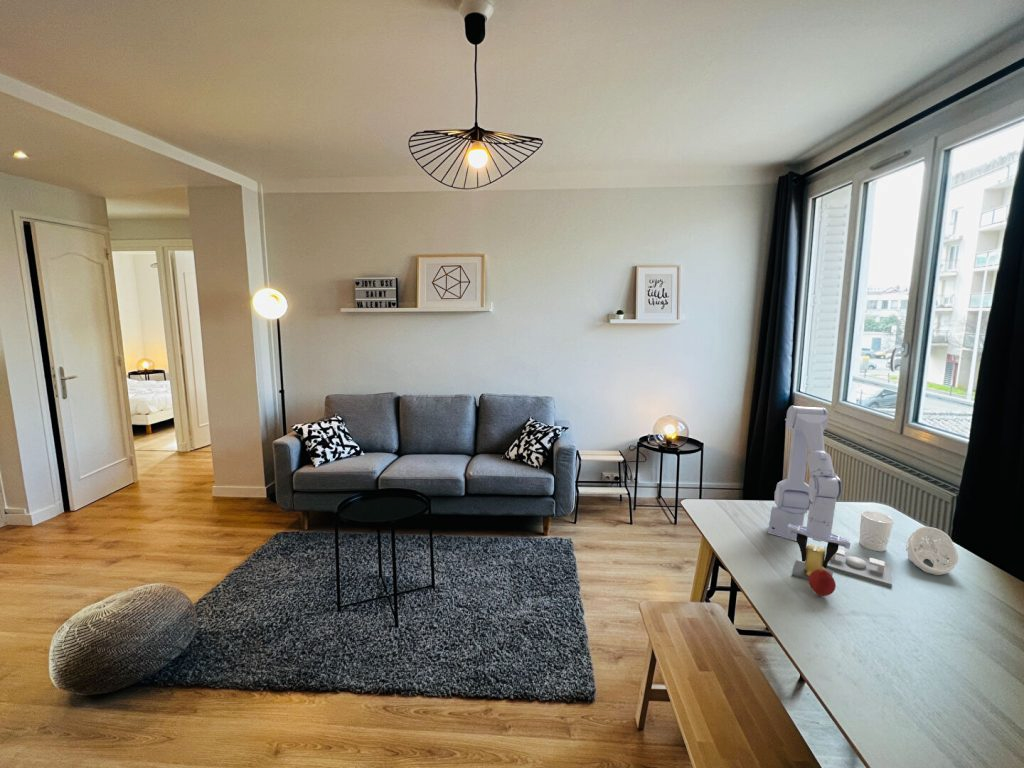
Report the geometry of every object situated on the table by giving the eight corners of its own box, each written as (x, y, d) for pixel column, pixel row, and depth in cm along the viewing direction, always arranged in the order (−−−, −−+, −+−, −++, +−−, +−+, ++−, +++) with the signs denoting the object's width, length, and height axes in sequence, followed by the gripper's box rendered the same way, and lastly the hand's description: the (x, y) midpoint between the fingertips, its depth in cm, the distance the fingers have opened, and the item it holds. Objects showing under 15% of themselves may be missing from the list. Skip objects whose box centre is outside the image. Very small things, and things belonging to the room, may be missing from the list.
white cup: (877, 540, 149) (882, 511, 147) (894, 553, 141) (900, 523, 139) (851, 538, 150) (855, 510, 148) (867, 552, 142) (872, 521, 140)
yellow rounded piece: (807, 562, 134) (810, 540, 133) (825, 568, 131) (828, 545, 130) (801, 573, 129) (803, 550, 128) (819, 579, 126) (822, 556, 125)
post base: (820, 566, 134) (822, 555, 133) (823, 549, 143) (825, 538, 143) (891, 587, 124) (893, 575, 124) (889, 567, 134) (891, 556, 133)
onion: (829, 591, 123) (833, 564, 121) (836, 604, 117) (840, 576, 116) (804, 586, 124) (808, 559, 123) (810, 599, 119) (814, 571, 118)
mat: (792, 576, 129) (792, 574, 129) (796, 561, 136) (796, 559, 136) (830, 588, 124) (830, 586, 124) (832, 572, 131) (833, 570, 131)
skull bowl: (941, 550, 141) (955, 528, 133) (948, 593, 132) (963, 572, 124) (897, 541, 146) (908, 519, 138) (901, 582, 137) (913, 561, 129)
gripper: (788, 515, 128) (782, 560, 131) (852, 531, 120) (845, 579, 122) (791, 507, 134) (786, 549, 136) (853, 521, 125) (846, 567, 128)
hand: (814, 563), depth 130 cm, fingers closed on yellow rounded piece, 4 cm apart
